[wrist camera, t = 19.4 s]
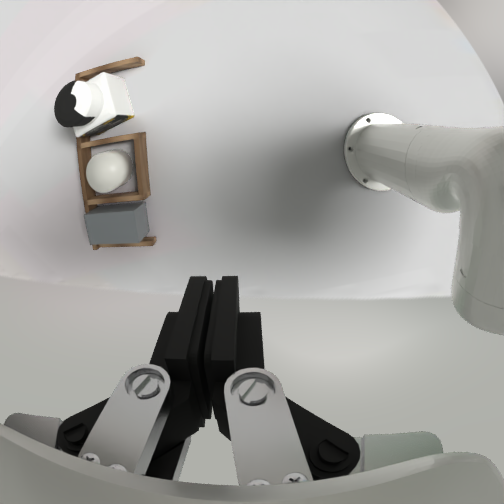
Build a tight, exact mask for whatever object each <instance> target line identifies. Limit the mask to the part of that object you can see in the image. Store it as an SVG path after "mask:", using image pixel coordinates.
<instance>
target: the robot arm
mask: <svg viewBox="0 0 504 504" xmlns="http://www.w3.org/2000/svg"><path fill="white" fill-rule="evenodd" d="M366 119H367V122H366ZM349 147H350V150H348V148H349ZM344 155H345V160H346V164H347V167H348V169H349V171H350V173H351V174H352V175H353V177H354V178H355V179H356V180H357V181H358V182H359V183H360V184H362V185H364V186H365V187H367V188H369V189H372V190H376V191H387V190H391V189H393V190H395V191H397V192H399V193H401V194H403V195H404V196H406V197H408V198H410V199H412V200H414V201H416V202H417V203H419V204H421V205H423V206H425V207H427V208H428V209H430V210H433V211H435V212H439V213H453V212H457V211H460V222H459V229H460V230H459V239H458V247H457V254H456V261H455V267H454V273H453V279H452V290H451V293H452V301H453V304H454V307H455V308H456V310H457V312H458V313H459V315H460V316H461V317H462V318H463V319H464V320H465V321H467V322H468V323H469V324H471V325H473V326H474V327H476V328H479V329H481V330H484V331H487V332H490V333H494V334H499V335H504V126H499V127H483V128H457V127H444V126H432V125H420V124H404V123H402V122H400V121H399V120H398V119H397V118H395V117H393V116H391V115H388V114H385V113H371V114H367V115H365V116H363V117H361V118H359V119H358V120H357V121H356V122H354V124H353V125H352V126H351V128H350V129H349V131H348V133H347V135H346V139H345V144H344ZM363 179H364V181H363ZM261 329H262V328H261V314H260V312H241V313H240V311H239V287H238V276H222V280H216V285H215V291H214V292H213V282H212V280H207V278H206V276H191V277H190V279H189V282H188V285H187V288H186V291H185V294H184V297H183V300H182V303H181V306H180V309H179V312H168V314H167V315H166V318H165V321H164V324H163V326H162V329H161V332H160V335H159V337H158V340H157V343H156V346H155V349H154V352H153V355H152V358H151V360H150V364H143V365H138V366H135V367H133V368H131V369H130V370H128V371H127V372H126V373H125V374H124V375H123V376H122V378H121V379H120V381H119V383H118V385H117V386H116V388H115V390H114V391H113V393H112V395H111V397H109V398H107V399H105V400H104V401H102V402H100V403H98V404H96V405H94V406H92V407H90V408H87V409H85V410H84V411H82V412H79V413H77V414H75V415H73V416H71V417H69V418H68V419H66V420H64V421H62V420H61V419H60V418H53V417H43V416H35V415H29V414H22V413H14V414H12V415H10V416H9V417H8V418H7V419H6V421H5V423H4V425H2V424H0V504H504V479H503V477H502V475H501V473H500V472H499V470H498V469H497V467H496V466H495V464H494V463H493V462H492V461H491V460H490V459H488V458H487V457H485V456H483V455H480V454H476V453H469V452H451V453H443V448H442V444H441V441H440V440H439V438H438V437H437V436H436V435H434V434H432V433H430V432H423V431H421V432H411V433H399V434H375V435H364V436H363V437H352V436H351V435H349V434H348V433H346V432H344V431H342V430H340V429H339V428H337V427H335V426H333V425H332V424H330V423H328V422H326V421H324V420H323V419H321V418H319V417H318V416H316V415H314V414H313V413H311V412H309V411H308V410H306V409H304V408H302V407H301V406H299V405H298V404H296V403H295V402H293V401H291V400H290V399H288V398H287V397H285V394H284V391H283V388H282V385H281V383H280V381H279V379H278V378H277V377H276V376H275V375H274V374H273V373H271V372H269V371H267V370H265V369H264V357H263V342H262V330H261ZM212 406H213V411H214V415H215V419H217V422H218V427H219V431H220V432H221V433H222V434H223V435H224V436H226V437H227V438H228V439H229V440H230V441H231V442H232V448H233V454H234V460H235V466H236V472H237V477H238V483H239V486H233V485H211V484H198V483H188V482H179V481H178V480H179V477H180V474H181V471H182V468H183V464H184V461H185V458H186V455H187V452H188V448H189V445H190V442H191V435H192V434H194V433H196V432H197V431H199V427H205V419H211V413H212Z"/></svg>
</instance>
